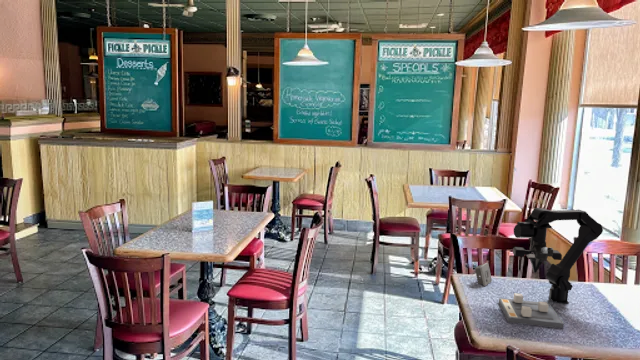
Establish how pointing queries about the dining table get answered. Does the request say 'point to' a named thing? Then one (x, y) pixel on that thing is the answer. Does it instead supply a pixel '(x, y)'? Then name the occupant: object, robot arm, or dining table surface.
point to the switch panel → (537, 317)
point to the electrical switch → (483, 274)
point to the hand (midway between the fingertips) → (534, 272)
